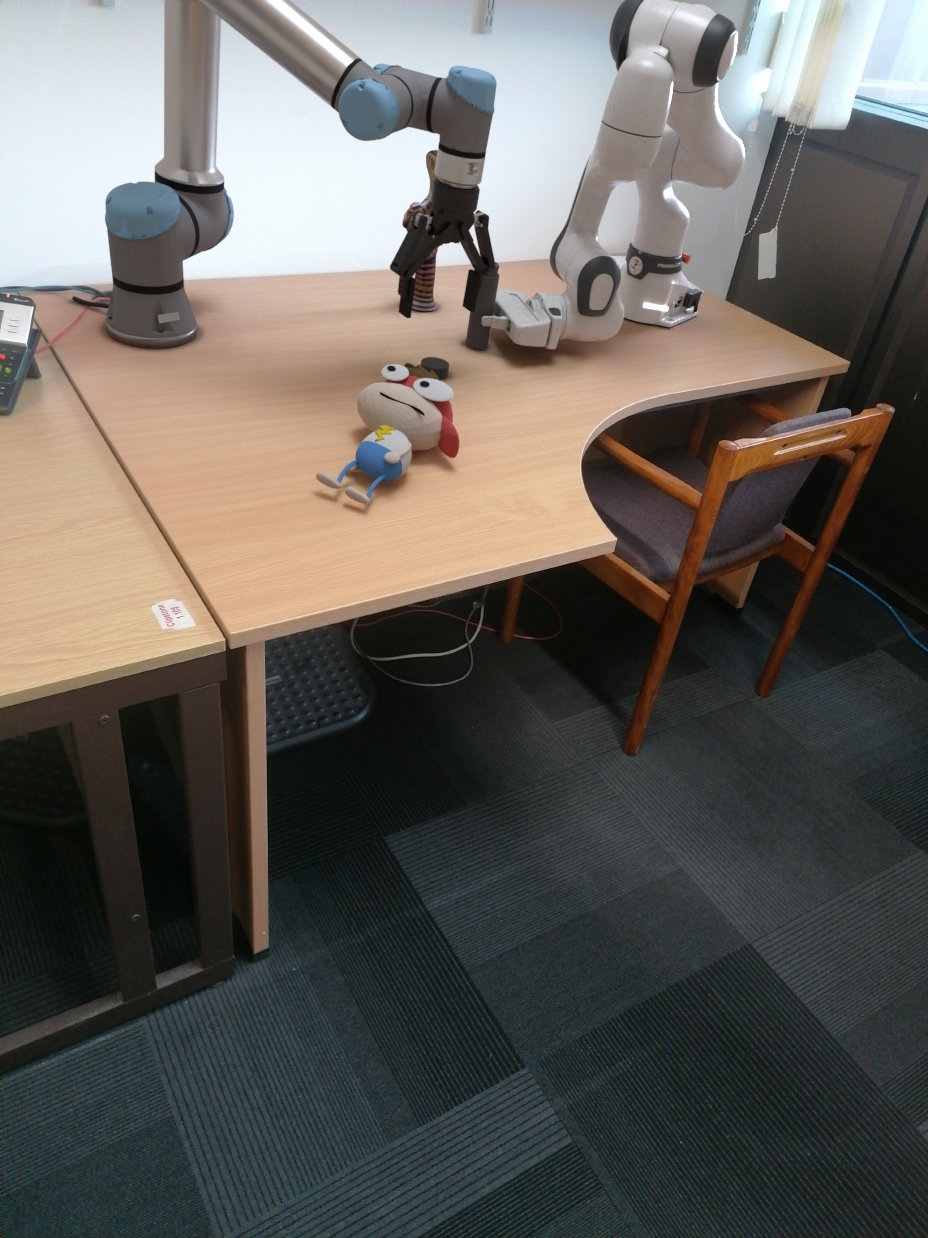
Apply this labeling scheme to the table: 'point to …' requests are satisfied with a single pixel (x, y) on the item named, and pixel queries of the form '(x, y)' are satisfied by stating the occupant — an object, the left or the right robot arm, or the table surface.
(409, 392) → the toy
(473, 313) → the dark grey bottle
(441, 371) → the lid
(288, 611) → the table surface
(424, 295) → the figurine
